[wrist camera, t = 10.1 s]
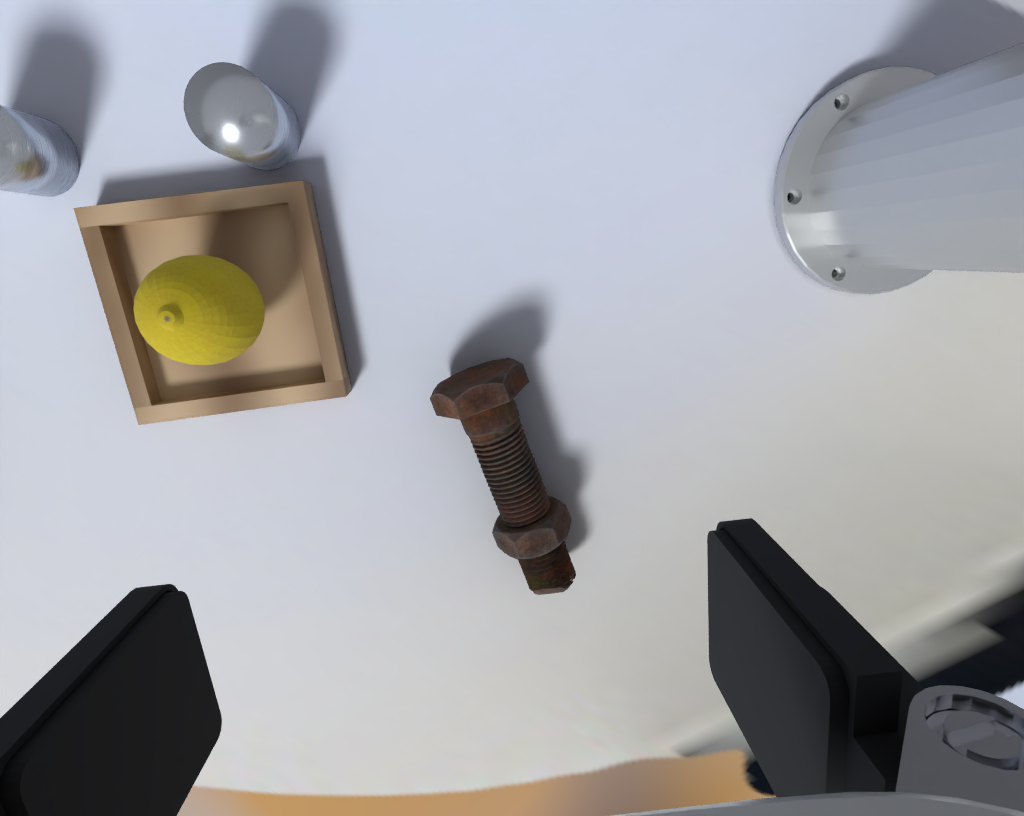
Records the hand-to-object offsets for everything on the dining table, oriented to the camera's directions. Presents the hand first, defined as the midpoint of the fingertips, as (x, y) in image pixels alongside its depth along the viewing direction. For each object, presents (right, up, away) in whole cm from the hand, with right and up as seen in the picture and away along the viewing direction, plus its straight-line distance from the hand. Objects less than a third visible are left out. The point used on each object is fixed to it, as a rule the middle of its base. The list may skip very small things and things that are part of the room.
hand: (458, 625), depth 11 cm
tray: (-16, +10, +24) cm, 30 cm away
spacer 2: (-13, +19, +22) cm, 32 cm away
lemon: (-15, +10, +24) cm, 30 cm away
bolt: (+1, 0, +29) cm, 29 cm away
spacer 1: (-25, +17, +22) cm, 37 cm away
